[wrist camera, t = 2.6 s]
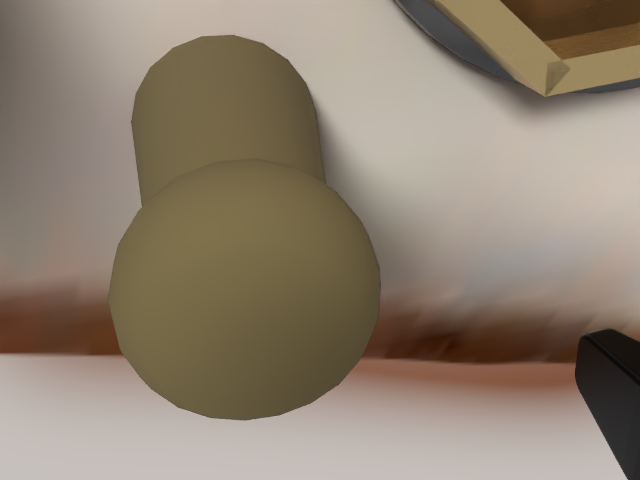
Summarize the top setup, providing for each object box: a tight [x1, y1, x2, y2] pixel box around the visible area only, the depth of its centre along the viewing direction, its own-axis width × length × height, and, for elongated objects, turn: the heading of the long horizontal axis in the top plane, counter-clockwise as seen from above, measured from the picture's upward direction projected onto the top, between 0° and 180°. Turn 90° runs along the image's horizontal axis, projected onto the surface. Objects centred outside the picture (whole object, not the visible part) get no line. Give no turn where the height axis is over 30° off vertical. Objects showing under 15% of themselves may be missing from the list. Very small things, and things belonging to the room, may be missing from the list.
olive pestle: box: [108, 35, 381, 420], centre depth 15 cm, size 6×6×11 cm
